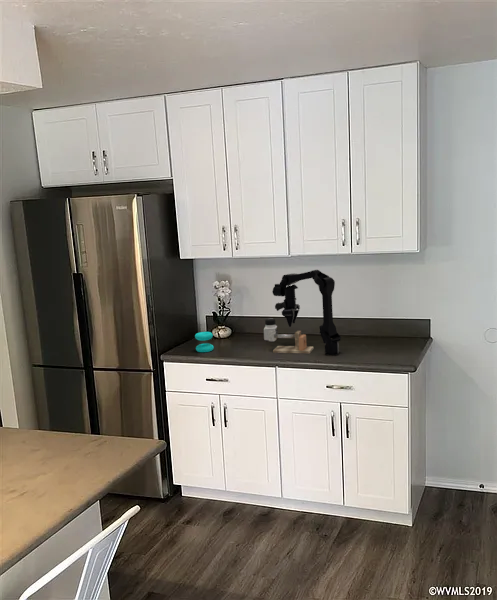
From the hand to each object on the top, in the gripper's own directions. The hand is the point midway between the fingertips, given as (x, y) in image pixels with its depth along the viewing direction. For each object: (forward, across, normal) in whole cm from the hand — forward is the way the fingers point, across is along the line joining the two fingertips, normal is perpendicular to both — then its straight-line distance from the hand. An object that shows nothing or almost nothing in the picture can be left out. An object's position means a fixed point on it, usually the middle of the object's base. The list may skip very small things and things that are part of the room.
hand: (291, 324), depth 333 cm
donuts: (+12, +10, -48) cm, 51 cm away
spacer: (+12, +8, +7) cm, 16 cm away
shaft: (+7, +7, -4) cm, 11 cm away
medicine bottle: (+12, -19, -18) cm, 29 cm away
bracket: (+13, +8, +2) cm, 15 cm away
